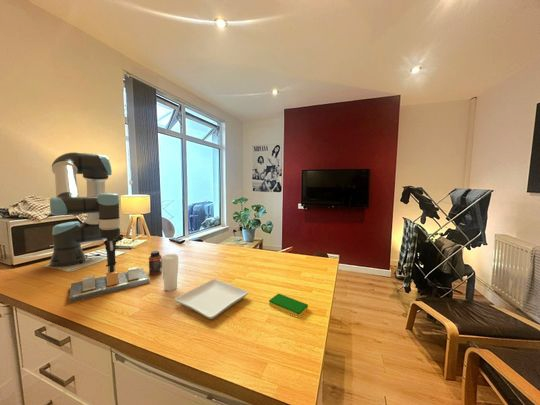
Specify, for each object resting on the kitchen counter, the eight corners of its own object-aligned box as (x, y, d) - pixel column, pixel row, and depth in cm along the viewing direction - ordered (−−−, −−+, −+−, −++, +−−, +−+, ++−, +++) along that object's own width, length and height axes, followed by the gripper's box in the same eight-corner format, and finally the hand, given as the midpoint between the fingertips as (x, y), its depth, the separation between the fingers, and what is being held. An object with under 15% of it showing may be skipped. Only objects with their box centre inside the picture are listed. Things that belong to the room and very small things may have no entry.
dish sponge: (278, 298, 91) (278, 293, 90) (308, 310, 83) (308, 304, 82) (268, 306, 85) (268, 300, 85) (299, 319, 77) (299, 313, 77)
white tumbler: (182, 286, 99) (181, 254, 98) (170, 293, 92) (170, 259, 91) (170, 284, 101) (169, 253, 100) (158, 290, 95) (157, 257, 93)
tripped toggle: (106, 284, 95) (106, 273, 95) (117, 281, 98) (117, 270, 97) (107, 286, 93) (106, 275, 93) (118, 283, 96) (117, 272, 95)
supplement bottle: (164, 271, 115) (164, 251, 114) (154, 275, 109) (153, 254, 109) (156, 269, 117) (156, 249, 116) (146, 273, 112) (146, 252, 111)
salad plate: (211, 326, 72) (211, 316, 72) (173, 306, 83) (173, 298, 83) (249, 298, 90) (249, 291, 90) (214, 285, 101) (214, 278, 101)
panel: (71, 287, 96) (70, 272, 95) (143, 272, 114) (142, 258, 113) (69, 303, 84) (68, 285, 83) (149, 282, 102) (149, 267, 101)
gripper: (98, 226, 98) (100, 276, 100) (99, 231, 88) (102, 286, 90) (118, 224, 103) (120, 272, 105) (121, 229, 93) (123, 281, 95)
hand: (111, 278), depth 97 cm, fingers closed
